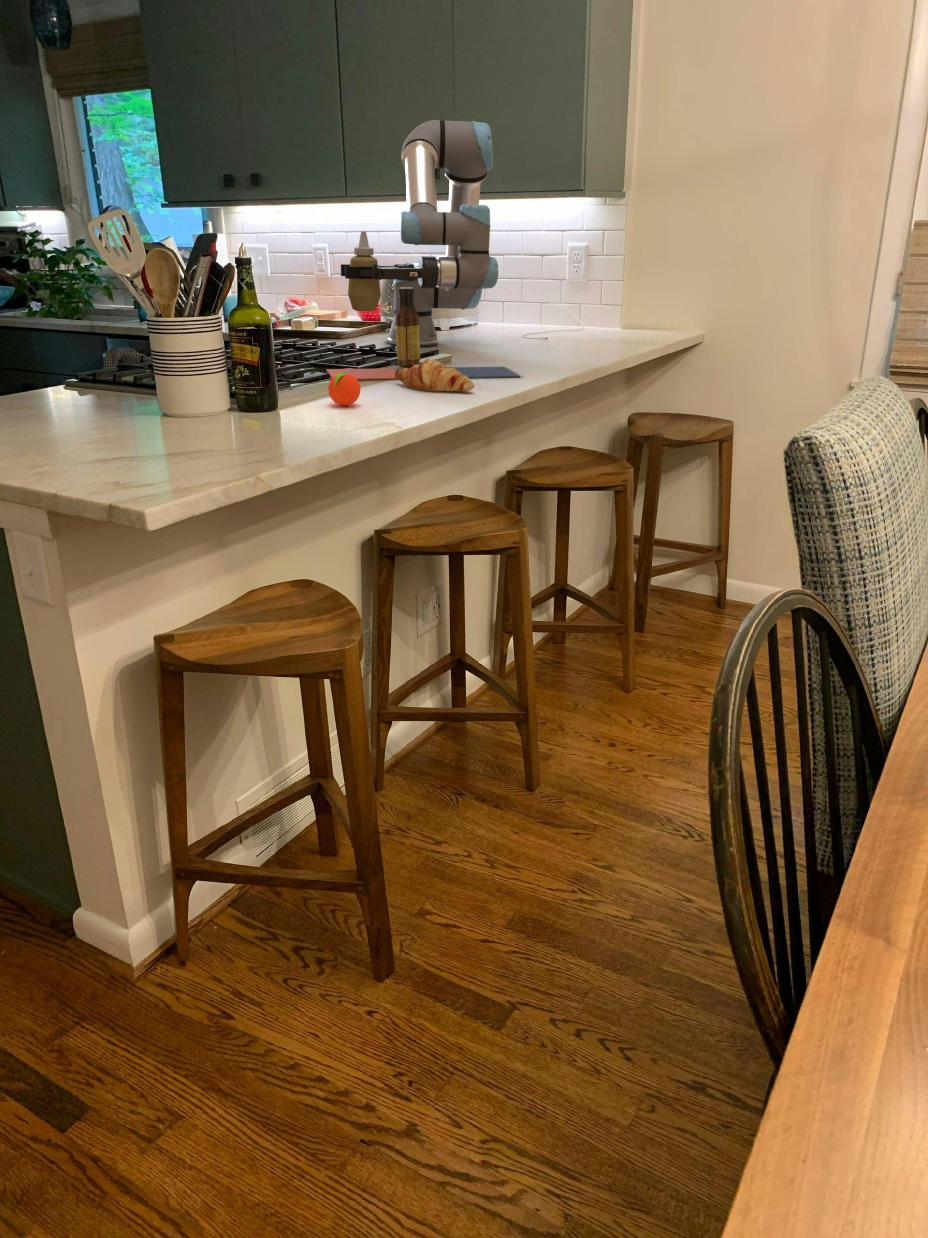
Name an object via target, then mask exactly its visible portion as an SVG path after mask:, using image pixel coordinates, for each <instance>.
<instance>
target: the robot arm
mask: <svg viewBox="0 0 928 1238" xmlns="http://www.w3.org/2000/svg"><path fill="white" fill-rule="evenodd" d="M401 164H402V166H403V169H404V170H405V184H406V185H405V186H406V210H403V211H402V212H400V216H399V224H400V225H399V235H400V237H399V238H400V242H401V243H402V244H403V245H404V244H405V245H414V246H446V250H445V255H438V256H436V257H435V256H434V255H421V256H420V257H419V259H418V263H416V262H415V263H411V262H406V263H394V264H378V268H377V265H376V264H373V267H357V266H350V263H349V264H348V263H347V264H345V263H344V264H342V263H340V276H341V277H344V278H345V279H348V280H349V279H373V278H374V279H378V280H379V281H381V280H393V283H392V285H393V319H392V323H391V325H390V326H391V327H390V328H389V333H388V337H387V342H388V344H390V345H393V346H397V341H396V312H397V310H398V308H399V306H400V305H399V303H400V295H399V288H401V287H412V288H414V296H413V297H414V306H415V309H416V311H417V313H418V321H419V337H420V347H431V346H436V345H438V334H437V331H436V328H435V323H434V321H433V309H445V310H447V309H448V310H450V309H452V310H453V309H454V310H462V311H463V310H469V309H470V310H472V309H473V310H474V309H475V308H477V307H478V306H479V304H480V301H481V299H482V293H483V290H487V289H493V288H494V287H495V286H496V285H497V283H498V279H499V264H498V260H497V259H496V258H495V257H494V256H493V257H492V256H490V238H491V237H490V235H491V210H490V209H491V208H490V207H489V206H488V205H485V204H480V196H481V195H480V194H481V184H482V182H484V181H485V180H486V179H487V175H488V172H490V171H493V169H494V151H493V139H492V130H491V126H490V125H489V124H488V123H486V122H482V121H481V122H480V121H476V120H472V121H471V120H470V121H467V120H441V119H433V120H427V121H425V122H423V123H421V124H419V125H418V126H416V127H415V128H413V130H412V131H411V132H409V134H408V136H407V137H406V138H405V140H404V141H403V145H402V148H401ZM436 169H440V170H441V169H442V170H444V176H445V177H446V179H447V180H449V189H448V190H449V191H448V209H447V210H448V211H438V200H437V183H436Z"/></svg>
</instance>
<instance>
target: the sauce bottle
mask: <svg viewBox="0 0 928 1238" xmlns="http://www.w3.org/2000/svg"><path fill="white" fill-rule="evenodd" d="M399 295H400V303H399V305H400V306H399V308H398V310H397V312H396V341H397V345H396V359H397V364H398V365H399V366H401V367H413V366H414V365H415V364H418V365H421V346H420V337H419V321H418V313H417V311H416V309H415V306H414V297H413V296H414V288H412V287H401V288H399Z"/></svg>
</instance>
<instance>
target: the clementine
mask: <svg viewBox="0 0 928 1238" xmlns="http://www.w3.org/2000/svg"><path fill="white" fill-rule="evenodd" d="M327 385H328V386H327V391H328V395H329V397H330V399H331V400H332V401H333V403H335V404H336V405H339V406H342V407H348V406H351V405H353V404H354V403H355V402H357V401H358V400H359V398H360V395H361V391H362V390H361V384H360V381H359V380H357V379H356V378H355V377H354V376H353V375H351V374H349V373H345V372H344V373H339V374H336V375H335V376H334V377H333V378H331V379H330V380H329V383H328V384H327Z"/></svg>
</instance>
